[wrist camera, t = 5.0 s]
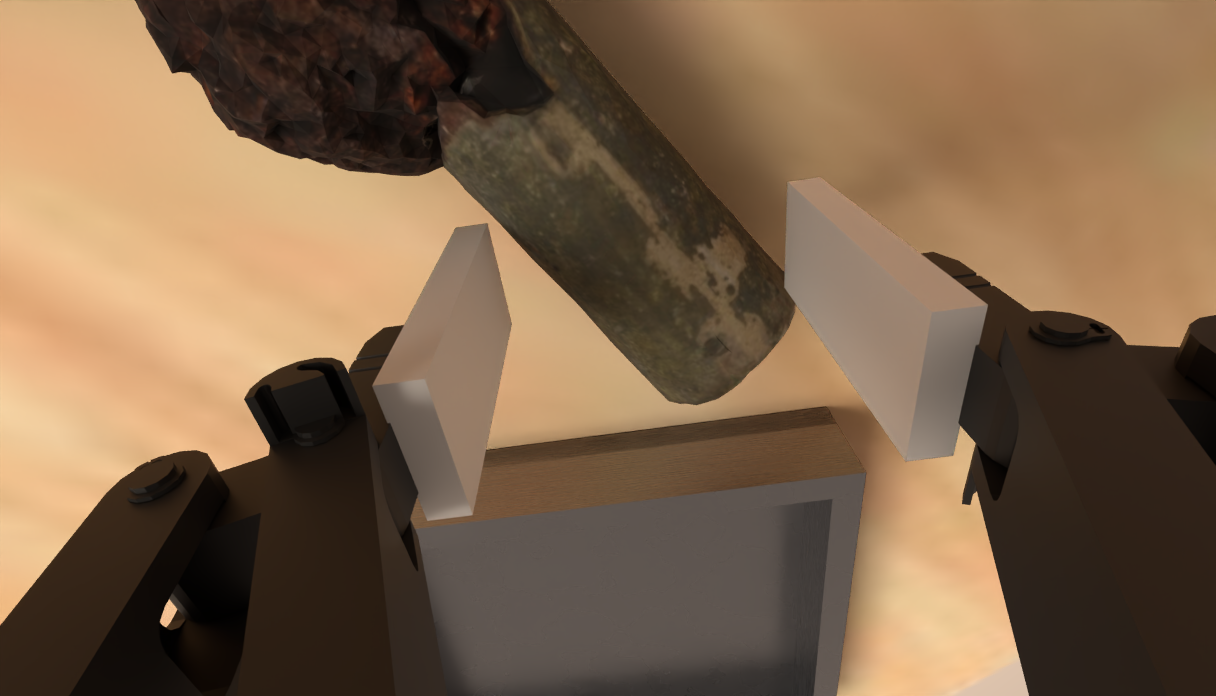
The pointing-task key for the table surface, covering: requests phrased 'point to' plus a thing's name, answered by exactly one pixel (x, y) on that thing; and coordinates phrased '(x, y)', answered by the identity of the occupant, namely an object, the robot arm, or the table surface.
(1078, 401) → the robot arm
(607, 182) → the metal pipe
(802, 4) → the table surface
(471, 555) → the grey square tray
